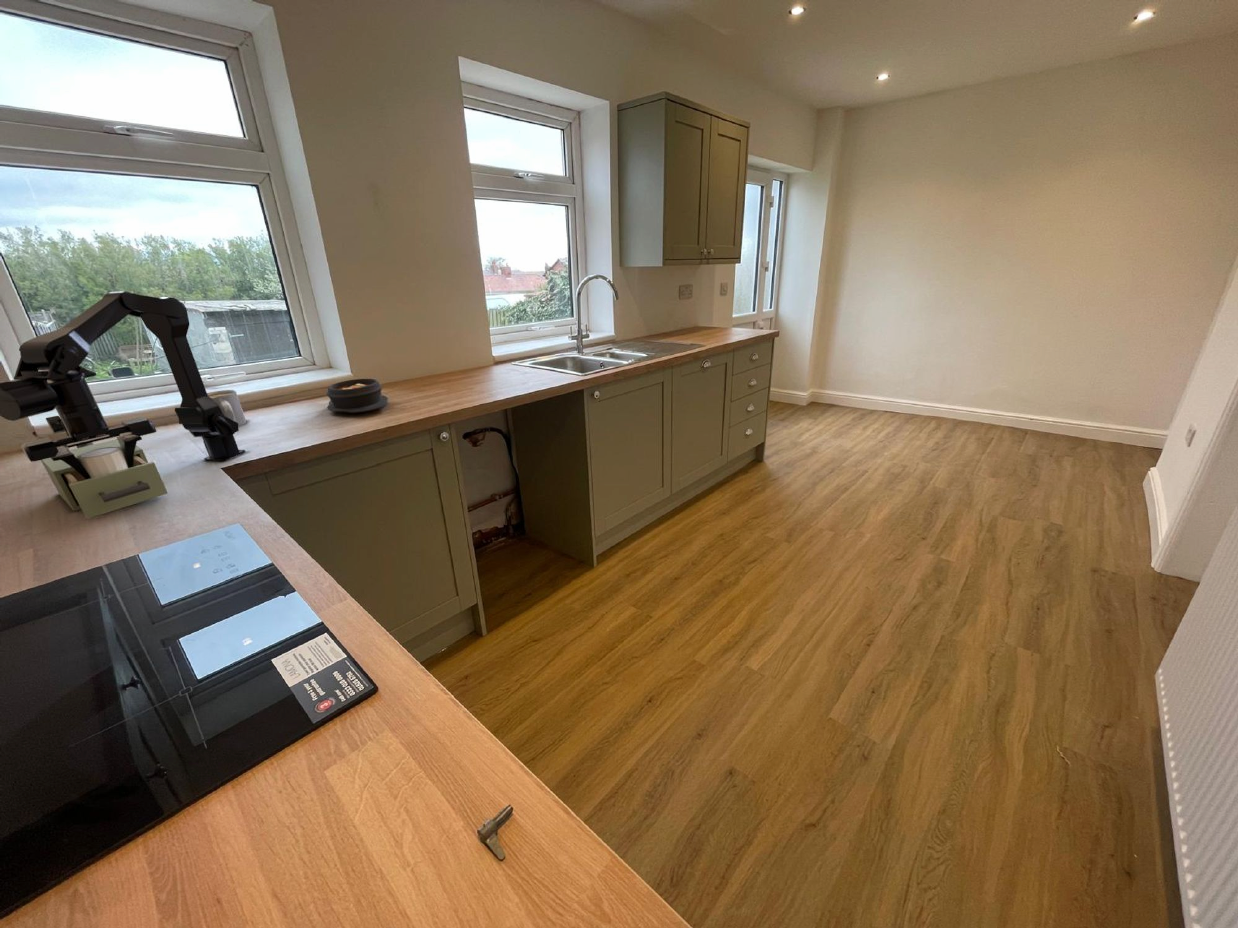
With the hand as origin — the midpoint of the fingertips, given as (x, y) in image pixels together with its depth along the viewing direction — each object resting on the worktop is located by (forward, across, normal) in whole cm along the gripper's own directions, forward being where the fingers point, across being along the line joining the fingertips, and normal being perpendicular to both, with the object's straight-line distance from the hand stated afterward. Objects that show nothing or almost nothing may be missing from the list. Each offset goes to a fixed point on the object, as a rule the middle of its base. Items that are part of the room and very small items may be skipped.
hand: (111, 476), depth 105 cm
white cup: (+2, 0, 0) cm, 2 cm away
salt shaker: (+7, -2, -36) cm, 37 cm away
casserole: (+7, -65, -23) cm, 69 cm away
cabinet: (+6, 0, -13) cm, 14 cm away
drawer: (+6, 0, 0) cm, 6 cm away
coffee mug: (+7, -34, -44) cm, 55 cm away
